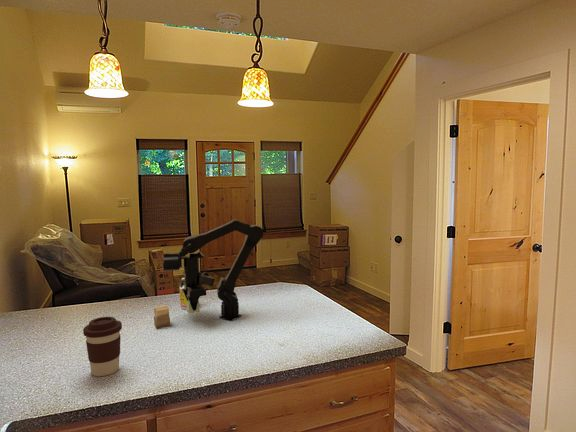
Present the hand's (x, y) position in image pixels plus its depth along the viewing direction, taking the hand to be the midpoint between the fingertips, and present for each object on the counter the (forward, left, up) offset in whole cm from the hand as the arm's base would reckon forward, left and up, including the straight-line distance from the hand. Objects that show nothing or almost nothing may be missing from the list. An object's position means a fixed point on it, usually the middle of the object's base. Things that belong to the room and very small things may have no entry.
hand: (193, 308), depth 150 cm
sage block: (0, 0, -1) cm, 1 cm away
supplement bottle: (+14, -10, -5) cm, 18 cm away
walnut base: (+6, +10, -5) cm, 13 cm away
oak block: (+6, +10, -2) cm, 12 cm away
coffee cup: (-8, +42, -5) cm, 43 cm away
